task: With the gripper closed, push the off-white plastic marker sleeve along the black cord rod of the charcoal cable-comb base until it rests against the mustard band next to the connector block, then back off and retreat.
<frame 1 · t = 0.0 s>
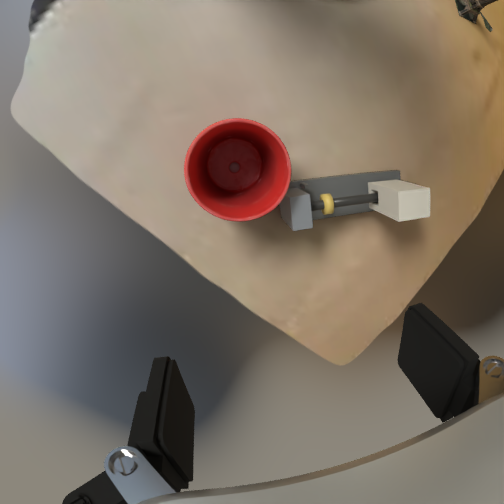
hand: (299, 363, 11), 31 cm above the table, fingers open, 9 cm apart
flower pot: (233, 165, 38), on the table
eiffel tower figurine: (464, 10, 31), on the table
marker sleeve: (398, 198, 35), point 7 cm above the table, slide at 5.0 cm
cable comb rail: (345, 194, 41), on the table
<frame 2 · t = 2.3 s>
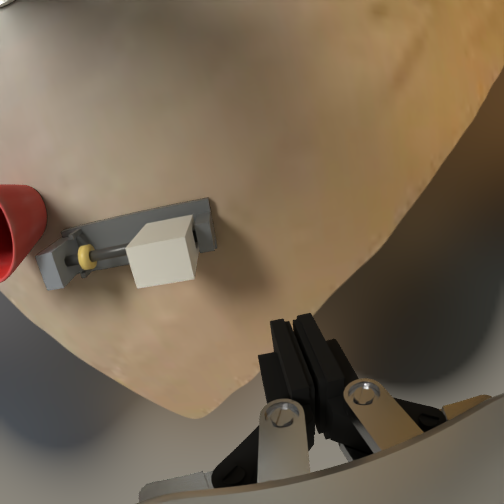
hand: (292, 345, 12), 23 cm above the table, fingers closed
flower pot: (26, 214, 30), on the table
marker sleeve: (166, 247, 27), point 7 cm above the table, slide at 5.0 cm
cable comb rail: (135, 236, 33), on the table
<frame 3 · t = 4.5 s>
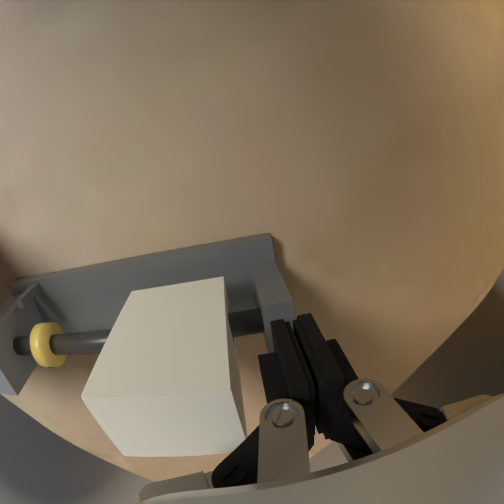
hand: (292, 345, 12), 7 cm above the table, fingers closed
marker sleeve: (176, 359, 12), point 7 cm above the table, slide at 3.8 cm, touching gripper
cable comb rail: (132, 299, 18), on the table
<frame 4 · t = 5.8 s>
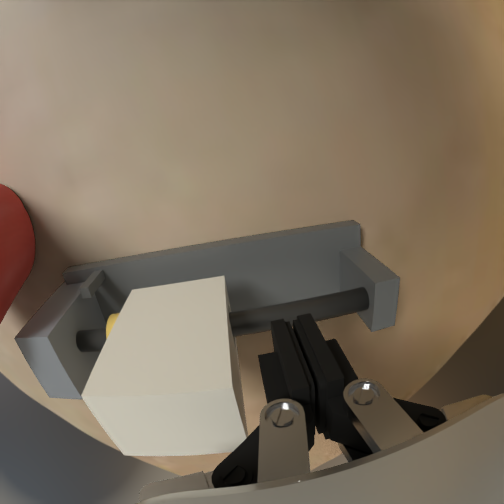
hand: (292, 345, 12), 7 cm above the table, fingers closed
flower pot: (0, 236, 16), on the table
marker sleeve: (177, 359, 12), point 7 cm above the table, slide at -1.5 cm, touching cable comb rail, gripper
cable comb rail: (212, 286, 18), on the table
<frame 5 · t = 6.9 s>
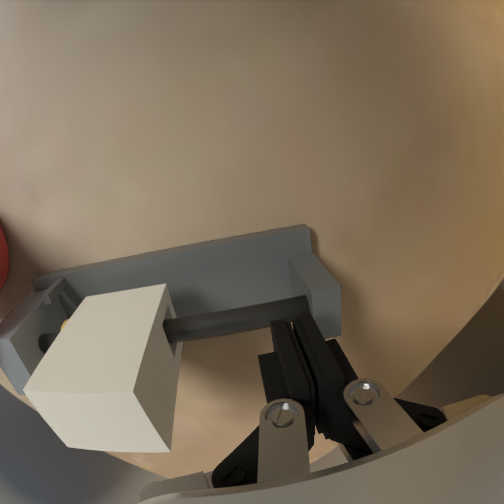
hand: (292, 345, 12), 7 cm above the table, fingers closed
marker sleeve: (115, 362, 12), point 7 cm above the table, slide at -1.5 cm, touching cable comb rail
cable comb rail: (165, 292, 18), on the table
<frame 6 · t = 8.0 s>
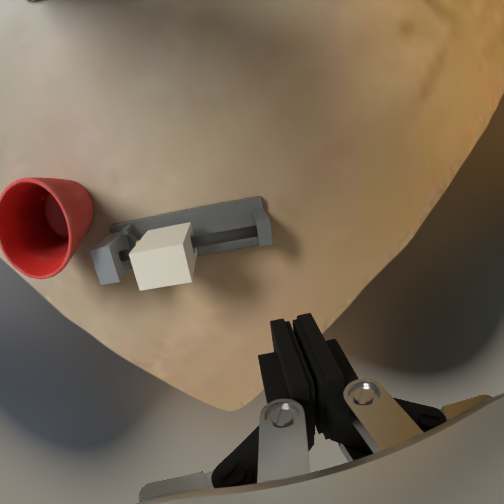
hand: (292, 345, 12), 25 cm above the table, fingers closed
flower pot: (69, 210, 33), on the table
marker sleeve: (166, 253, 29), point 7 cm above the table, slide at -1.5 cm, touching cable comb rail
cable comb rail: (187, 232, 35), on the table
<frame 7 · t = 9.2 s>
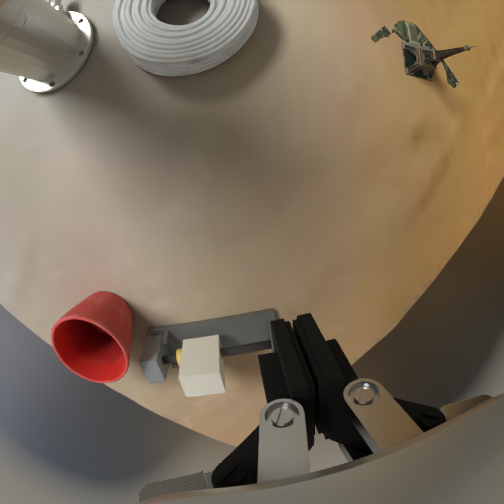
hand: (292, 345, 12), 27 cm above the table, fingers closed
flower pot: (109, 313, 40), on the table
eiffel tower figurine: (417, 62, 33), on the table
marker sleeve: (202, 365, 37), point 7 cm above the table, slide at -1.5 cm, touching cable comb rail
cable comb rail: (214, 334, 43), on the table
cable: (187, 19, 28), on the table
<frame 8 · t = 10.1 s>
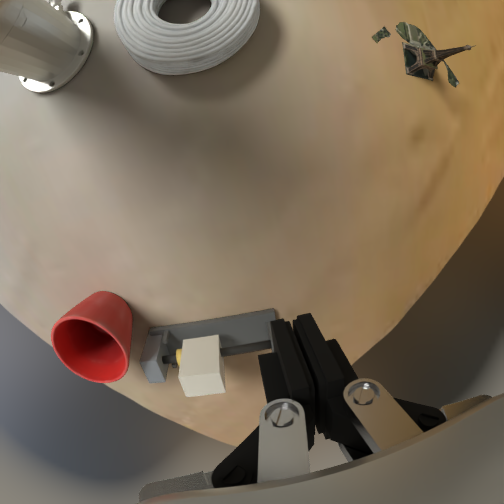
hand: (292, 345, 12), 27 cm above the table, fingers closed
flower pot: (109, 313, 40), on the table
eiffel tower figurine: (417, 61, 33), on the table
marker sleeve: (202, 364, 37), point 7 cm above the table, slide at -1.5 cm, touching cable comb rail
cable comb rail: (214, 334, 43), on the table
cable: (188, 18, 28), on the table
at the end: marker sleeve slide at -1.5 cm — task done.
